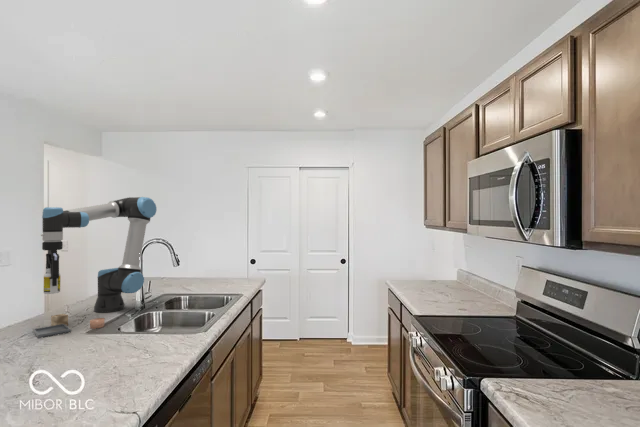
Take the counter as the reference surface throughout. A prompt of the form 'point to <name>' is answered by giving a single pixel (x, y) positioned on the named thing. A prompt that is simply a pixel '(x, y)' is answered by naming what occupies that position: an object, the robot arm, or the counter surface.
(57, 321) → the cork block
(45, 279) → the pill bottle
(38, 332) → the slate tray
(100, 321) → the brown egg
